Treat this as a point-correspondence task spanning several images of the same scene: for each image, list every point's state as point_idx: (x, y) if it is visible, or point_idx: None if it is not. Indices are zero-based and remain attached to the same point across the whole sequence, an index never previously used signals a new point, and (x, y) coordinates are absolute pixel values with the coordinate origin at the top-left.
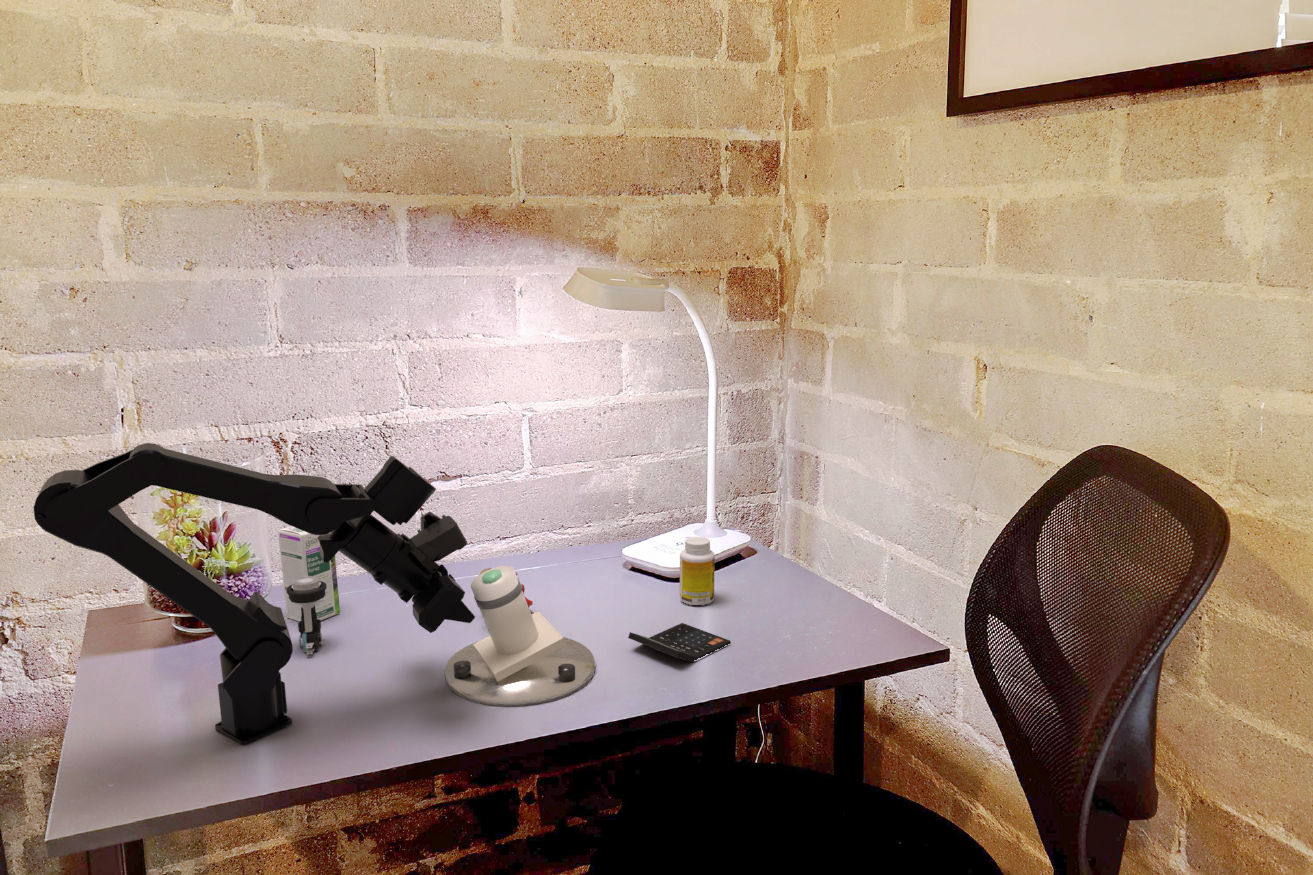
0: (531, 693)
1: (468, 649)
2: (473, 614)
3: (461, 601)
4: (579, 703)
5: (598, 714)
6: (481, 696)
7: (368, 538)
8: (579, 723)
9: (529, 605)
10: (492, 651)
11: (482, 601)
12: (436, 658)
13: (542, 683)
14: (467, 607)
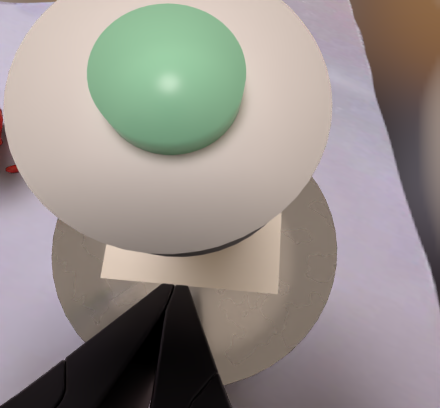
0: (321, 248)
1: (71, 280)
2: (171, 285)
3: (222, 384)
4: (346, 197)
5: (384, 191)
6: (299, 342)
7: None
8: (405, 222)
9: (2, 116)
10: (182, 257)
11: (242, 239)
12: (28, 357)
13: (291, 218)
14: (142, 302)
